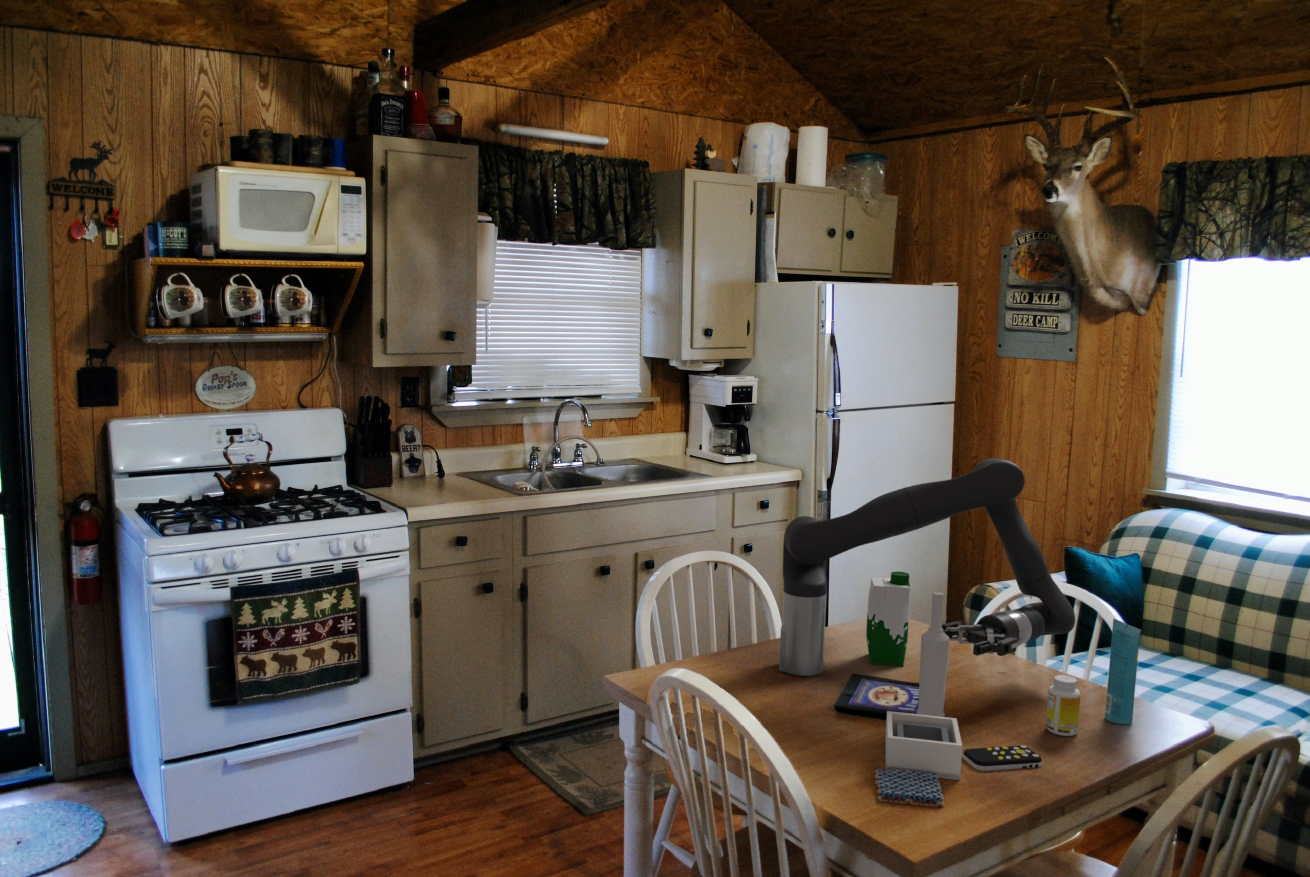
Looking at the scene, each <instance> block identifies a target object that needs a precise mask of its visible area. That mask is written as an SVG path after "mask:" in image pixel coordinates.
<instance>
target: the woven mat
mask: <svg viewBox="0 0 1310 877" xmlns="http://www.w3.org/2000/svg"><path fill="white" fill-rule="evenodd" d="M881 768H882V767H881V766H878V769H877V770H875V771H874V772H875V773H876V774H874V778H875V784H876V785H877V789H878V790H877V791H876V793H877V800H878V801H880V802H887V803H898V804H907V805H916V806H927V807H928V806H929V807H938V808H944V807H945V806H946V804H945V802H944V801H943V800H944V794H942V792H943V790H941V789H942V787H941V785H940V781H938V780H939V779H940V778H938V776H937V775H936V776H935V773H932V775H931V774H930V772H929V771H927V775H925V772H922V774H923V775H922V774H921V773H920V772H919V771H917V772H916V773H915V771H912V772H910V770H908V771H906V772H905V770H903V772H902V771H900V769H898V770H897V771H895V770H893V772H892V771H891V770H890V768H888V771H886V768H882V769H881ZM906 773H907V774H906ZM916 774H917V775H916ZM879 794H880V795H879Z"/></svg>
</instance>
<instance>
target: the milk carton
mask: <svg viewBox="0 0 1310 877" xmlns="http://www.w3.org/2000/svg"><path fill="white" fill-rule="evenodd" d="M910 586H911V585H910V573H908V572H905V571H892V572H891V573H890V577H873V576H872V577H870V586H869V591H868V592H869V593H868V598H867V612H866V613H867V614H866V616H867V617H866V628H865V629H866V631H865V633H866V634H865V637H866V643H867V644H866V645H867V649H868V650H867V651H868V656H869V657H868V658H869V661H870V664H871V665H872V664H873V665H884V666H885V665H887V666H901V667H903V666H904V665H905V660H906V659H905V658H906V652H907V646H908V638H909V623H910V622H909V621H910V606H911V605H910V602H911V601H910V600H911V599H910V597H911V595H910V594H911V587H910Z"/></svg>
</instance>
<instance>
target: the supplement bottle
mask: <svg viewBox="0 0 1310 877" xmlns="http://www.w3.org/2000/svg"><path fill="white" fill-rule="evenodd" d="M1053 678H1054V679H1053V684H1052V685H1050V686H1049V687H1048V690H1047V691H1048V692H1047V693H1048V694H1047V695H1048V696H1047V708H1046V709H1047V710H1046V723H1045V726H1046V729H1047V730H1048V731H1049V732H1050V733H1052V734H1054V735H1057V736H1064V737H1072V736H1075V735H1076V734H1077V733H1078V731H1079V719H1080V717H1079V716H1080V708H1081V707H1080V704H1081V691H1080V690H1079V689H1078V687H1077V684H1078V683H1077V682H1078V681H1077V679H1076V678H1075V677H1072V676H1069V675H1064V674H1063V675H1062V674H1061V675H1060V674H1057V675H1055V676H1054V677H1053Z"/></svg>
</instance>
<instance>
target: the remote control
mask: <svg viewBox="0 0 1310 877" xmlns="http://www.w3.org/2000/svg"><path fill="white" fill-rule="evenodd" d="M962 759H963V760H964V761H965V762H966V763H968V764H969V765H970V767H972V768H974V769H976V770H978V771H981V772H982V771H983V772H987V771H1000V770H1014V769H1027V768H1028V769H1030V768H1031V769H1032V768H1033V769H1034V768H1039V767H1041V766H1042V764H1043V759H1042V757H1041V755H1039V754H1038V753H1036V752H1035V751H1034V750H1032V749H1031V748H1030V747H1028V746H1027V745H1009V746H1008V745H1007V746H1004V745H1003V746H991V747H977V748H973V747H972V748H965V750H964V751H962Z"/></svg>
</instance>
